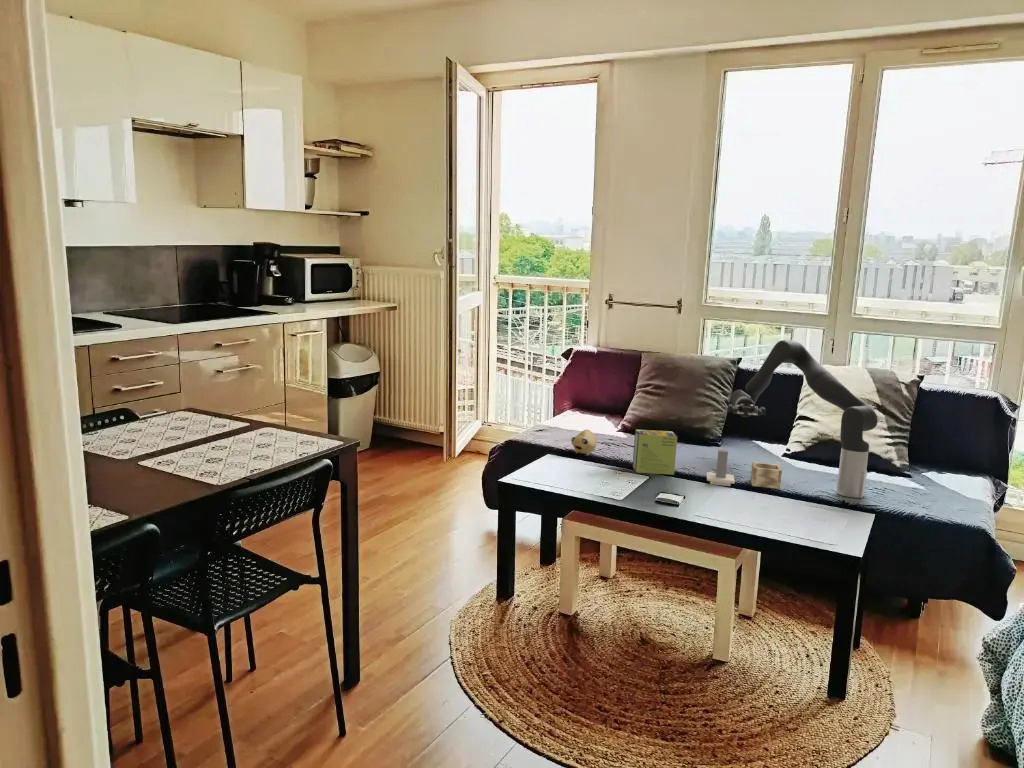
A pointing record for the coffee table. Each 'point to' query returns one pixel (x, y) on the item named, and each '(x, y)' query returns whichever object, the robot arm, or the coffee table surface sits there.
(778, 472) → the storage box
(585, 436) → the yellow toy creature
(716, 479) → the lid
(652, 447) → the protein box
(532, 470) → the coffee table surface
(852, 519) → the coffee table surface
